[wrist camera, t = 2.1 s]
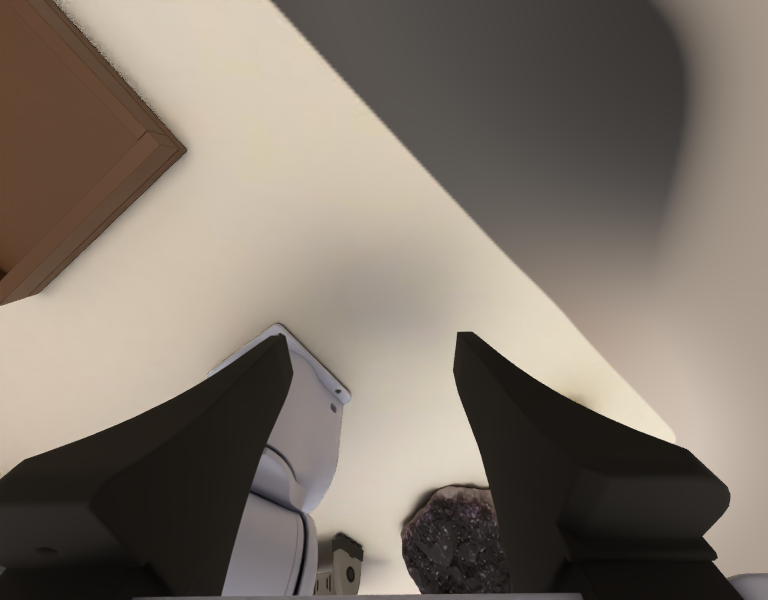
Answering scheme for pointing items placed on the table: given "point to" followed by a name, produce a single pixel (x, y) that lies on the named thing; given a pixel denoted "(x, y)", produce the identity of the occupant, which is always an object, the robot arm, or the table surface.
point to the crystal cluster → (456, 545)
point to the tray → (64, 145)
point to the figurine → (341, 570)
